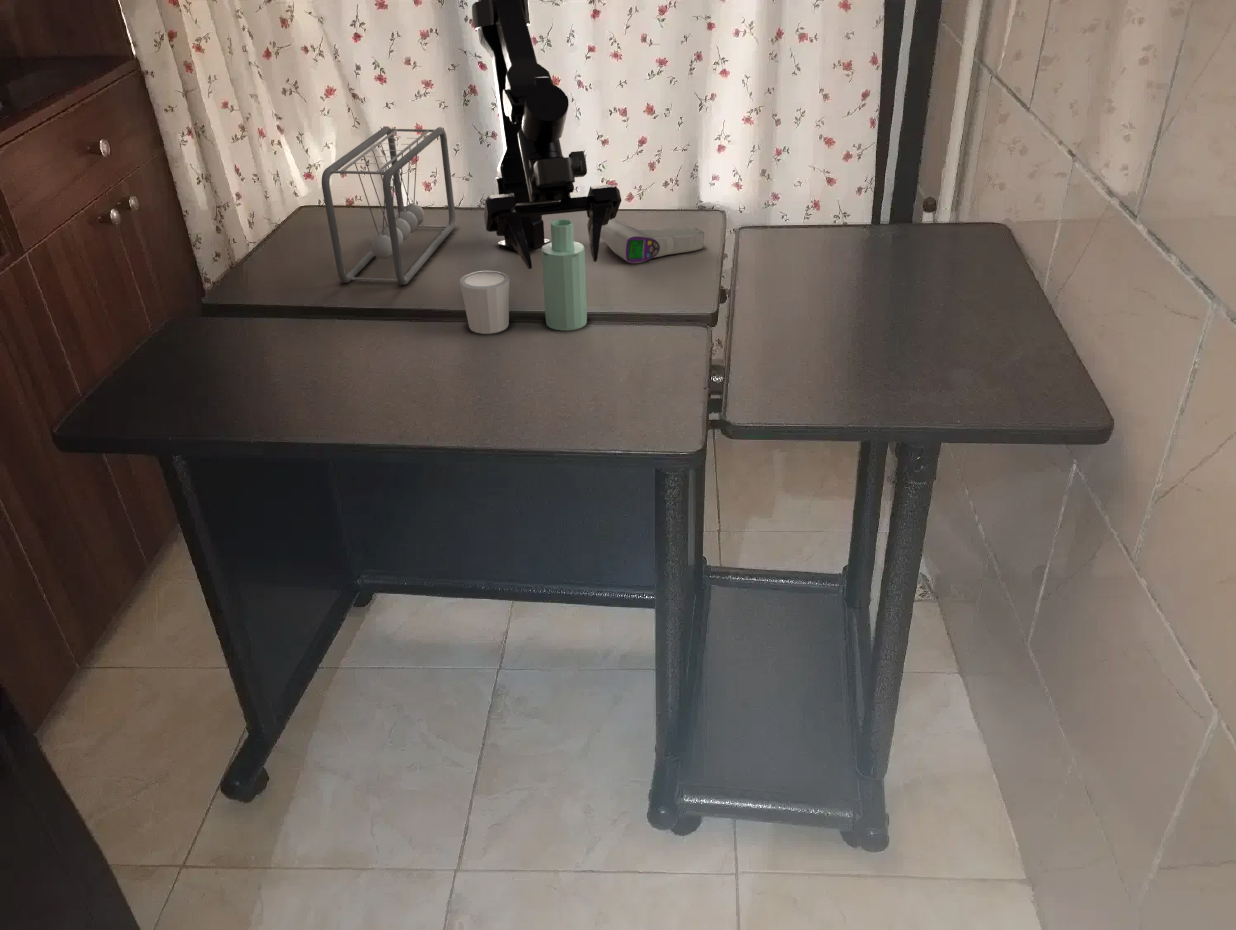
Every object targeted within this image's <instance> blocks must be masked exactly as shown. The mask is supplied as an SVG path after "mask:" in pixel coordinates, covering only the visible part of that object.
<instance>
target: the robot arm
mask: <svg viewBox="0 0 1236 930" xmlns="http://www.w3.org/2000/svg"><path fill="white" fill-rule="evenodd" d="M529 6H530V5H529V0H477V1H475V2H474V3H472V5H471V18H472V24H473V29H474V30H477V34H478V41H479V44H480V45H481V46H482V48H483V49H484V50H485V52H486V53H487V54H488V56H489V57H490V58H491V62H492V71H493V78H494V84H495V92H496V101H497V108H498V115H499V123H500V132H501V138H502V145H503V146H502V147H503V153H502V156H501V159H500V161H499V163H498V166H497V168H496V174H497V177H495V179H494V188H493V195H488V196H487V197H486V199H485V200H484V209H483V211H484V212H483V217H484V225H485V231H487V232H489V233H492V232H495V233H496V236H498V237H504V238H503V239H504V240H500V241H498V243H497V246H499V247H502V248H505V249H508V250H512V251H516V252H517V254H518V255H519V257H520V258H521V260H522V261H523V263H524V265H525V266H526V267H527V269H528V270H532V268H533V263H532V257H531V253H530V252H531V251H534V250H538V249H539V248H542V247H543V245H545V244H547V243H550V242H551V240H550V239H548V238H545V224H544V223H545V222H544V220H543V216H548V215H557V214H566V213H567V214H569V213H577V212H578V213H579V212H586V216H587V218H588V220H587V223H586V226H587V233H588V241H589V247H590V254H591V258H592V261H593V263H596V262H597V261H598V257H599V249H600V241H601V238H600V234H601V228H602V226H604V225H607V224H608V222H609V220H611V219H613V220H614V219H616V217H617V214H618V211H619V209H620V206H621V203H622V196H621V192H620V189H619V188H618V187H617V186H616V185H615V184H614V183H610V184H601V185H600V184H599V185H591V186H589V190H588V193H587V196H586V195H585V196H576V197H572V195H571V194H572V193H574V190H575V186H574V185H575V184H574V183H575V182H576V179H575V178H583V177H585V176H586V175H587V174H588V166H587V160H586V156H585V152H584V150H576V151H571V152H570V153H568V156H567V157H565V156H564V155H563V151H562V145H561V140H560V138H562V136H563V134H564V133H563V132H564V129H565V124H566V120H567V114H568V111H569V105H570V104H569V103H570V102H569V97H568V95H566V92H565V91H563V89H561V88H560V87H559V86H557V85H555V84H554V82H553V79H552V75H551V74H550V73H551V72H550V71H549V70H548V69H547V68H545V67H544V66H542V65H541V64H540V63H539V62H538V59H537V56H536V52H535V49H534V45H533V41H532V38H531V33H530V30H529V26H530V25H531V17H530V7H529Z"/></svg>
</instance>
